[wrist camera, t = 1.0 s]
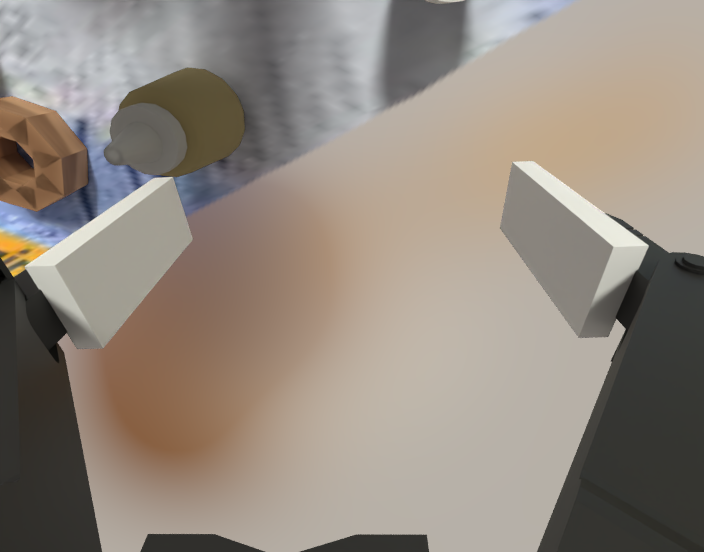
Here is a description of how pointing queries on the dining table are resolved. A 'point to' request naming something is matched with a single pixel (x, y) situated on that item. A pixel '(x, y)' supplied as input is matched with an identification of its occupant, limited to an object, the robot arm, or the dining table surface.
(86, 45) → the dining table surface
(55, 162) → the walnut bead
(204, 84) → the squeeze bottle
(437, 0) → the cup
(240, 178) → the dining table surface
